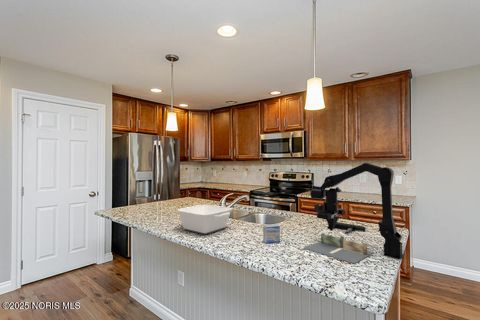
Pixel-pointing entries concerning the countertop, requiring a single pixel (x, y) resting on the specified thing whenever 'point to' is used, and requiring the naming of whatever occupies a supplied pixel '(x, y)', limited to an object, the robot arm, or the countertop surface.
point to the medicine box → (271, 234)
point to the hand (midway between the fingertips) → (331, 230)
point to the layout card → (337, 252)
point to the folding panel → (330, 240)
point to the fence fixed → (354, 246)
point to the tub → (204, 218)
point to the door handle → (348, 227)
